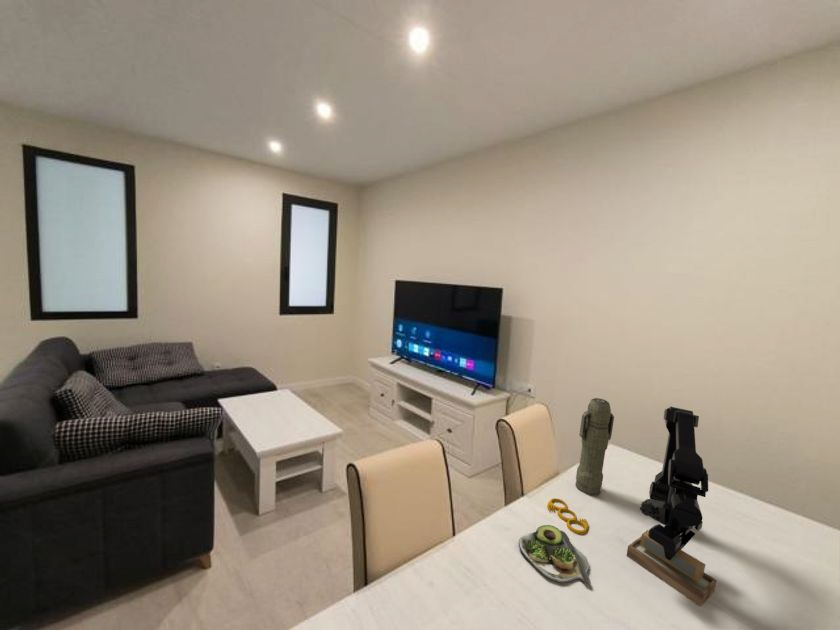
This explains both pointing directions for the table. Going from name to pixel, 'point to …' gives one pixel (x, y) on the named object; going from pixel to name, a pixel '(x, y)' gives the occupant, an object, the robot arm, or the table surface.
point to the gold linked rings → (568, 520)
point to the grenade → (594, 445)
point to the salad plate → (555, 554)
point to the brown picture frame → (672, 574)
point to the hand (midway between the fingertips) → (671, 556)
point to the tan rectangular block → (675, 558)
